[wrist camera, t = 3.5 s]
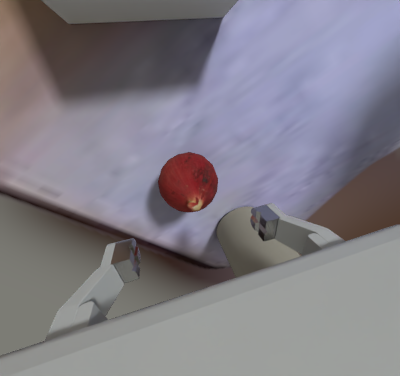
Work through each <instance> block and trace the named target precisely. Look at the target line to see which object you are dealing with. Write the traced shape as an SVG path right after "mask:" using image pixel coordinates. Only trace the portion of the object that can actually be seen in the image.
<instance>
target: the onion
mask: <svg viewBox="0 0 400 376" xmlns="http://www.w3.org/2000/svg"><path fill="white" fill-rule="evenodd" d="M158 184H159V190H160V193H161V196H162V197H163V198H164V200H165V201H166V202H167V204H169V205H170V206H171V207H173V208H175V209H176V210H178V211H183V212H196V211H199V210H201V209H203V208H205V207H206V206H207V205H209V204H210V203H211V202H212V200H213V198H214V196H215V194H216V192H217V185H218V178H217V175H216V172H215V170H214V167H213V165H212V164H211V163H210V162H209V161H208V160H207V159H206V158H204V157H203V156H202V155H199V154H195V153H191V152H188V153H183V154H178V155H176V156H175V157H173V158H171V159H169V160H168V161H167V163H166V164H165V165H164V166H163V168H162V169H161V173H160V177H159V180H158Z"/></svg>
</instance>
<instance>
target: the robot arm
mask: <svg viewBox="0 0 400 376" xmlns="http://www.w3.org/2000/svg"><path fill="white" fill-rule="evenodd" d="M251 214H252V216H251V218H250V222H251V225H252V227H253V229H254V230H255V231H258V235H259V236H260V238H261V239H262V240H263V241H268V240H272V239H275V240H277V241H279V242H281V243H282V244H284V245H286V246H288V247H290V248H291V249H293V250H295V251H297V252H299V253H300V254H302V256H300V257H297V258H294V259H291V260H288V261H285V262H282V263H279V264H276V265H273V266H270V267H267V268H264V269H261V270H258V271H255V272H252V273H249V274H246V275H243V276H240V277H237V278H234V279H231V280H228V281H225V282H222V283H219V284H216V285H213V286H210V287H207V288H204V289H201V290H197V291H194V292H191V293H188V294H185V295H182V296H179V297H177V298H173V299H170V300H167V301H164V302H161V303H158V304H155V305H152V306H149V307H146V308H143V309H140V310H137V311H134V312H131V313H128V314H125V315H122V316H119V317H116V318H113V319H110V320H107V318H106V317H105V316H106V315H107V313H108V311H109V309H110V308H111V306H112V304H113V303H114V301H115V299H116V298H117V296H118V294H119V293H120V291H121V289H122V288H123V286H124V283H127V282H131V281H134V280H136V279H139V272H140V268H139V266H138V265H139V263H140V252H139V249H138V247H136V242H135V240H134V239H129V240H124V241H120V242H116V243H112V244H108V245H107V246H106V250H105V253H104V256H103V259H102V262H101V266H100V268H97V269H96V270H95V271H94V272H93V274H92V275H91V276H90V277H89V278H88V279H87V280H86V281H85V282H84V283H83V284H82V285H81V286H80V287H79V289H78V290H77V291H76V292H75V293H74V294H73V295H72V296H71V297H70V298H69V299H68V300H67V302H65V304H64V305H63V306H62V307H61V308H60V309H59V310H58V312H57V314H56V316H55V319H54V321H53V323H52V325H51V328H50V330H49V332H48V335H47V337H46V339H45V341H43V342H40V343H37V344H34V345H31V346H28V347H25V348H22V349H19V350H16V351H13V352H10V353H7V354H4V355H1V356H0V376H400V225H395V226H391V227H388V228H385V229H382V230H379V231H376V232H373V233H370V234H367V235H364V236H361V237H358V238H355V239H352V240H349V241H344V240H343V239H341V238H340V237H339V236H338V235H336V234H335V233H333V232H332V231H330V230H329V229H328V228H325V227H322V226H319V225H316V224H313V223H310V222H307V221H304V220H301V219H298V218H295V217H292V216H287V215H286V214H284V213H283V212H282V211H281V210H280V209H279V208H277V207H276V206H275V205H274V204H272V203H269V204H266V205H262V206H259V207H255V208H252V209H251Z"/></svg>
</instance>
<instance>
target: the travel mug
mask: <svg viewBox="0 0 400 376" xmlns="http://www.w3.org/2000/svg"><path fill="white" fill-rule="evenodd" d="M252 208H253V207H240V208H237V209H235V210H233V211H231V212H229V213H228V214H227V215H225V216H224V217H223V218H222V220H221V221H220V223H219V224H218V227H217V237H218V239H219V242H220V244H221V246H222V248H223V250H224V253H225V255H226V257H227V259H228V261H229V264H230V266H231V268H232V270H233V272H234V274H235V277H236V278H237V277H240V276H243V275H246V274H249V273H252V272H255V271H258V270H261V269H264V268H267V267H270V266H273V265H276V264H279V263H282V262H285V261H288V260H291V259H294V258H297V257H300V255H299V254H298V252H297V251H295V250H293V249H291V248H290V247H288V246H286V245H284V244H282V243H281V242H279V241H277V240H275V239H272V240H268V241H263V240H262V239H261V238H260V236H259V235H258V231H255V230H254V229H253V227H252V225H251V222H250V218H251V216H252V214H251V209H252Z"/></svg>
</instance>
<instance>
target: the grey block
mask: <svg viewBox="0 0 400 376" xmlns="http://www.w3.org/2000/svg"><path fill="white" fill-rule="evenodd" d="M41 1H43V2H44V3H45V4H46V5H47V6H48V7H50V8H51V9H52V10H53V11H54V12H55V13H57V14H58V15H59V16H60V17H61V18H62V19H64V20H65V21H66V22H67V23H68V24H82V23H106V22H130V21H153V20H177V19H200V18H223V17H224V16H225V15H226V14H227V13H228V12H229V10H230V9H231V8H232V7H233V6H234V5H235V4H236V3H237V1H238V0H41Z"/></svg>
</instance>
